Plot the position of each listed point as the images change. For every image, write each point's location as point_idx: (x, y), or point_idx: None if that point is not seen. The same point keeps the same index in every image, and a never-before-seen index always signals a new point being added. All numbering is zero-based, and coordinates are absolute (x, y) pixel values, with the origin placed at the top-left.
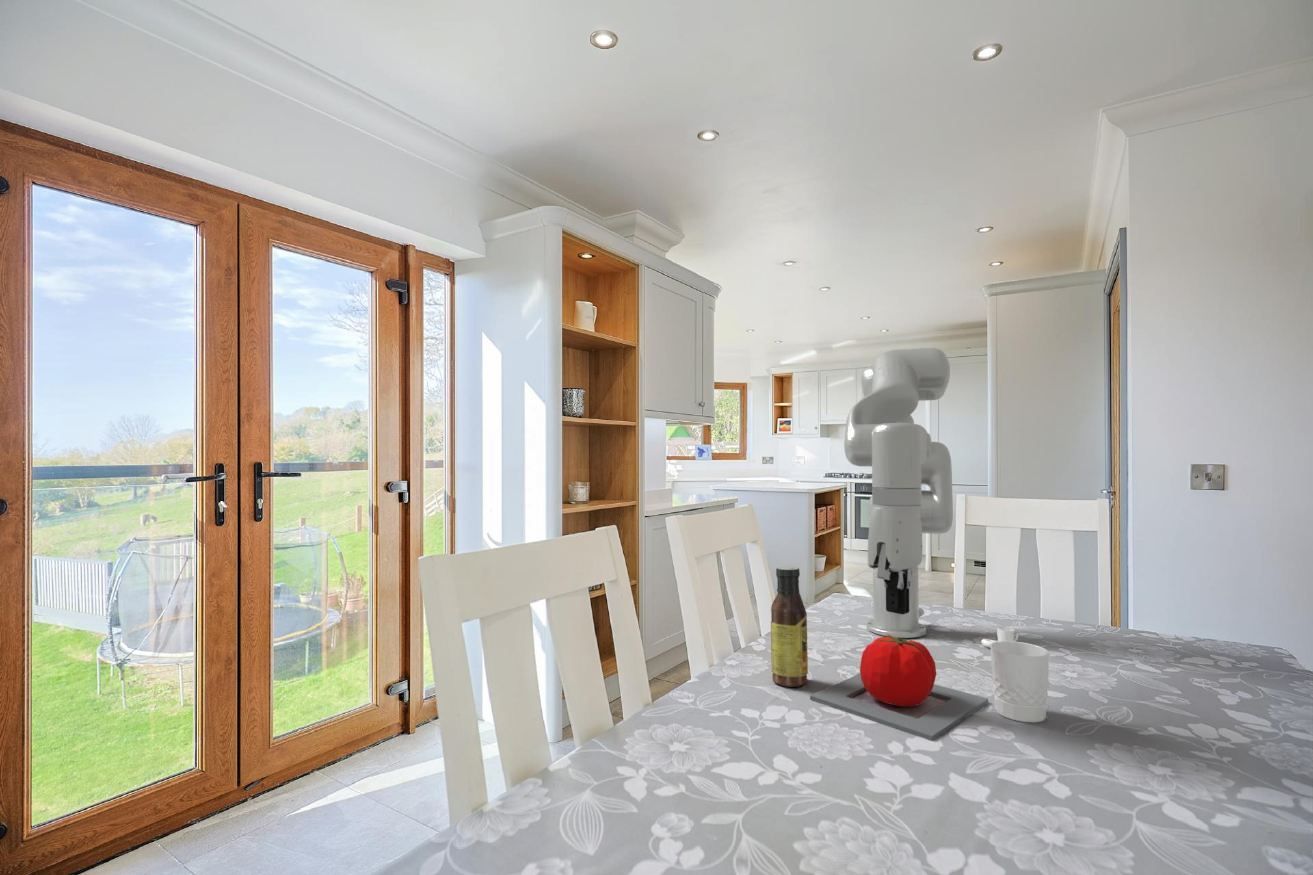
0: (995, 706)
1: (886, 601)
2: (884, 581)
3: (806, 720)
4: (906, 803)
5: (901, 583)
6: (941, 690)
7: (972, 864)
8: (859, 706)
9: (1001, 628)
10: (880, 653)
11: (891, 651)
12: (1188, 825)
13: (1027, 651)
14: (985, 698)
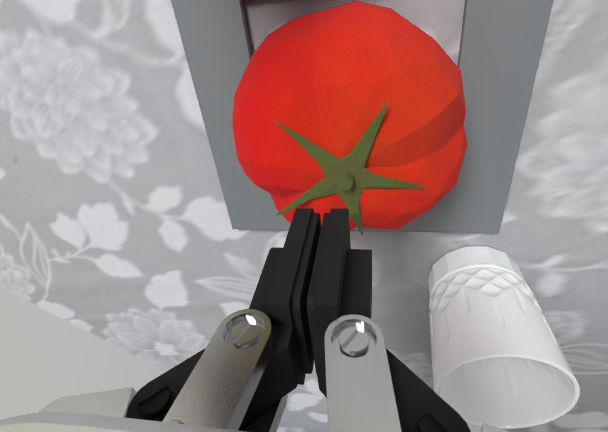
0: (459, 252)
1: (288, 238)
2: (210, 347)
3: (73, 22)
4: (76, 263)
5: (270, 408)
6: (483, 148)
7: (71, 322)
8: (219, 72)
9: None
10: (240, 153)
11: (260, 184)
12: (286, 403)
13: (564, 382)
14: (497, 228)
